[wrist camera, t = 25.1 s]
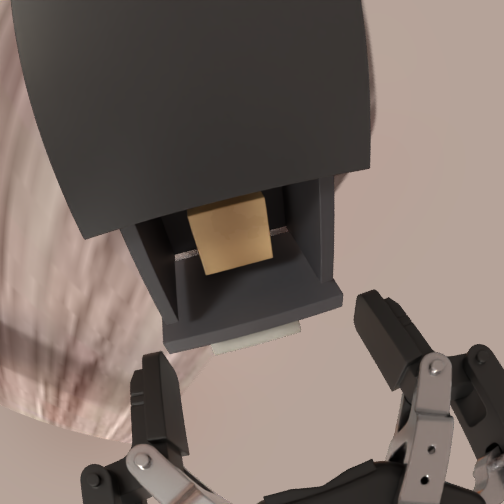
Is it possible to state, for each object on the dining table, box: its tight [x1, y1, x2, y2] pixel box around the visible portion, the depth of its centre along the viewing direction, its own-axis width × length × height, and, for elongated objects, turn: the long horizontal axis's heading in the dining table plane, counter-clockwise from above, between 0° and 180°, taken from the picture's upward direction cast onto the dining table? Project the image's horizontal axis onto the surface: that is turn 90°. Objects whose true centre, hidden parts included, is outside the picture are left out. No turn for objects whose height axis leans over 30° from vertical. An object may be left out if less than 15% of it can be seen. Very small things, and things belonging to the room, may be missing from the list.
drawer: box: [120, 175, 343, 355], centre depth 19 cm, size 18×11×8 cm, turn 8°
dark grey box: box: [11, 0, 371, 240], centre depth 11 cm, size 15×13×10 cm
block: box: [187, 191, 273, 275], centre depth 19 cm, size 4×4×4 cm
